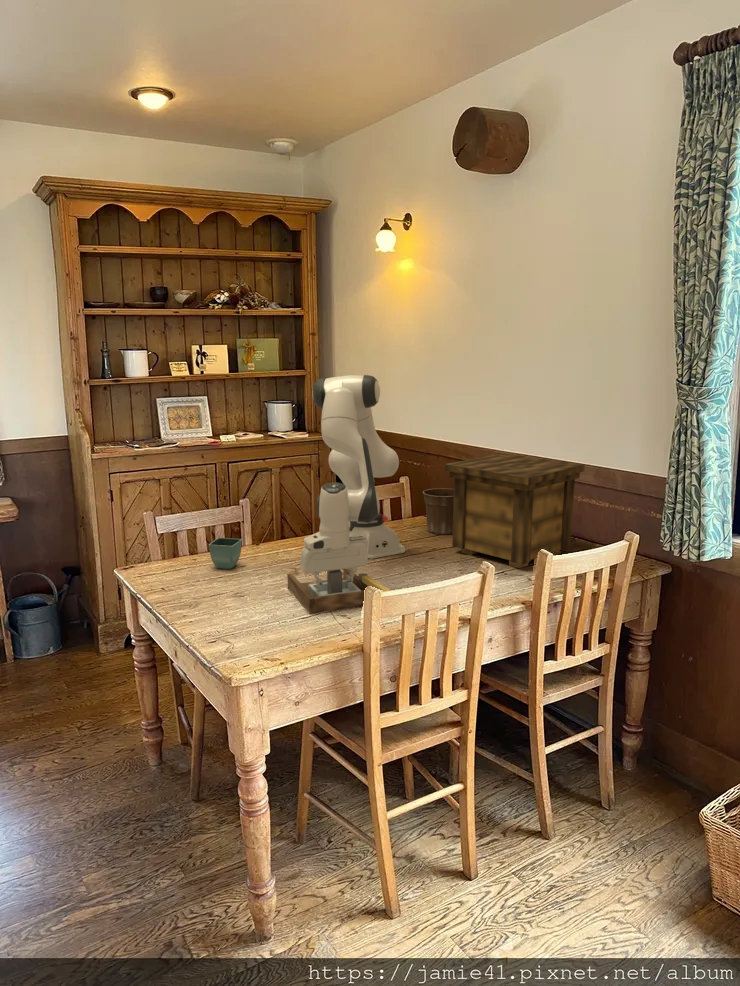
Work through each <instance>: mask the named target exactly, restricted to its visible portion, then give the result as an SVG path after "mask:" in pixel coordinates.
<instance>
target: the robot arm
mask: <svg viewBox="0 0 740 986" xmlns="http://www.w3.org/2000/svg"><path fill="white" fill-rule="evenodd" d="M380 396H381V387H380V385H379V381H378V380H377V378H375V376H373V375H368V374H364V375H356V374H351V375H350V374H349V375H342V376H341V375H340V376H334V377H328V378H327V377H322V378H319V379H317V380H316V381H315V382H314V383H313V387H312V399H313V403H314V405H315V407H317V409H319V410H321V421H320V422H321V425H320V426H321V427H320V429H321V438H322V440H323V442H324V443H325V444H326V446H327V447H329V448H330V449H332V450H330V453H329V455H328V465H329V468H330V470H331V471H332V472H333V473H334V474H335V475H336V476H338V478H339V479H340V480H341V482H342V483H341V482H336V481H335V482H329V483H325V484H324V485H322V486H321V488H320V494H319V495H318V496H317V498H316V515H317V516H318V518H319V519H320V523H319V531H317V532H315V533H313V534H311V535H309V536H305V538H303V545H304V547H303V548H302V550H301V553H300V569H301V571H302V572H304V574H312V575H313V577H314V578H315V581H316V584H317V586H323V579H322V578H319V576H320V572H321V573H322V572H327V571H332V570H340V571H341V570H343V569H350V570H351V572H350V574H349V575H347V582H353V576H354V575H355V574H356V573H357V570H358V569H357V568H364V567H367V565H368V564H369V559H377V558H383V557H384V558H385V557H388V556H394V555H399V554H404V553H406V548H405V546H404V545H403V544H401V543H400V540H399V535H398V533H396V531H394V530H393V529H392V528H391V527H389V526H388V525H386V524H385V523H387V522H388V521H389V517H388V516H386V515H384V514H381V513H380V509H381V506H380V500H379V499H380V496H379V493H378V491H377V490H376V485H375V479H374V478H377V479H378V478H380V479H382V478H388V477H392V476H394V475H395V474H396V473H397V471H398V469H399V465H400V460H399V456H398V454H397V452H396V450H394V449H393V448H391V447H390V446H388V445H387V444H386V443H385V442H384V441H383V440H382V438H381V437H380V436H379V434H378V433H377V430H376V427H375V423H374V418H373V410H372V408H373V407H375V406H376V405H377V404H378V403H379V400H380ZM384 522H385V523H384Z"/></svg>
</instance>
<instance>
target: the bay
mask: <svg viewBox="0 0 740 986" xmlns="http://www.w3.org/2000/svg"><path fill="white" fill-rule="evenodd" d="M342 570H343V571H342V580H347V575H349V574H350V572H351V569H350V568H349V569H342ZM322 580H323V579H322ZM325 582H327V579H324V580H323V583H325ZM352 583H354V584H355V585H356V586H357V587H358V588H359V589H360V590H361V591H358V592H350V593H342V594H334V595H327V596H319V597H313V596H312V595H311V594H310V593H309V584H316V580H315V581H306V582H300V580H299V579H297V577H296V576H295V575H294V574H293V573H287V588H288V590H289V591H290V593H292V595H293V596H294V597H295V598H296V600H297V601H298V602H299V603H300V604H301V606H302V607H303V608H304V609H305V611H307V613H308V614H309V615H312V614H314V615H315V614H322V613H327V612H336V611H342V610H350V609H357V608H364V607H363V601H364V590H365V588H366V587H367V585H366V584H364V583H363V582H360V581H358V575H357V574H356V573H355V575H354V576H353V582H352Z"/></svg>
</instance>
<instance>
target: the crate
mask: <svg viewBox="0 0 740 986" xmlns="http://www.w3.org/2000/svg"><path fill="white" fill-rule="evenodd" d="M585 468H586V464H582V463H574V462H568V461H561V460H554V459H545V458H540V457H533V456H526V455H519V454H512V453H505V452H504V453H499V454H493V455H488V456H481V457H477V458H472V459H471V458H470V459H466V460H461V461H455V462H451V463H450V462H449V463H445V467H444V471H446V472H449V478H453V489H454V505H453V534H452V547H454V548H457V549H460V550H461V551H460V552H461V553H462V554H465V555H470V556H473V555H476V554H479V553H481V554H484V555H489V556H492V557H496V558H501V559H504V560H507V561H508V566H511V567H513V568H518V569H522V568H524V567H528V566H529V563H531V561H532V560H534V559H538V557H537V555H538V552H539V551H540V550H541V549H545V550H547V551H549V552H551V553H553V552H554V553H553V554H554V555H555V556H557V555H560V554H561V553H562V550H567V549H569V548H571V545H572V533H573V532H572V531H573V530H572V529H573V528H572V527H573V512H574V498H575V482H576V481H575V480H576V479H579V478H580V477H581V475H580V474H581V473H583V472H585V470H586V469H585ZM560 550H561V551H560ZM557 551H558V552H557Z"/></svg>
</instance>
